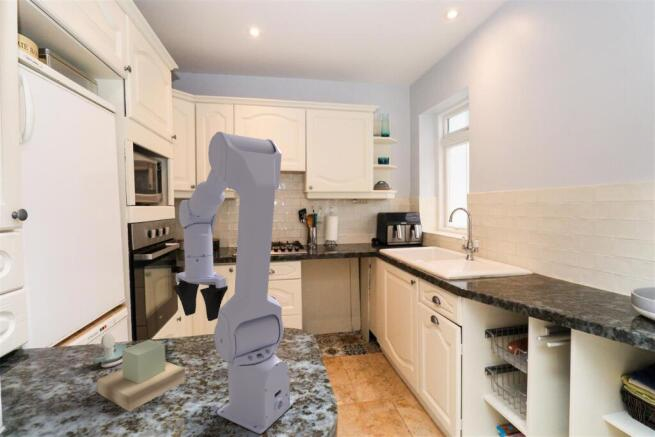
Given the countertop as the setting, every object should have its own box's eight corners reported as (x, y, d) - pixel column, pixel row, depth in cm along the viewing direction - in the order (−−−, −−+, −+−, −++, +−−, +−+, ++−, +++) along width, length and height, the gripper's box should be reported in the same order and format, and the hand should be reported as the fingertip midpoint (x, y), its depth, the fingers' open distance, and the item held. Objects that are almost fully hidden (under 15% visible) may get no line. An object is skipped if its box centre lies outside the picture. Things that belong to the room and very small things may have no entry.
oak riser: (185, 384, 58) (184, 368, 58) (129, 414, 49) (128, 396, 49) (153, 370, 63) (152, 356, 63) (97, 395, 55) (97, 379, 55)
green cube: (165, 370, 57) (164, 344, 57) (138, 383, 53) (137, 355, 53) (149, 364, 60) (149, 339, 60) (122, 376, 55) (121, 349, 55)
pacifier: (137, 355, 70) (115, 353, 71) (137, 328, 70) (114, 327, 71) (111, 371, 63) (85, 369, 64) (110, 342, 63) (85, 340, 64)
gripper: (236, 254, 66) (238, 316, 66) (193, 251, 73) (195, 307, 73) (209, 259, 60) (211, 327, 60) (166, 255, 67) (168, 316, 67)
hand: (201, 316), depth 66 cm, fingers open, 7 cm apart
